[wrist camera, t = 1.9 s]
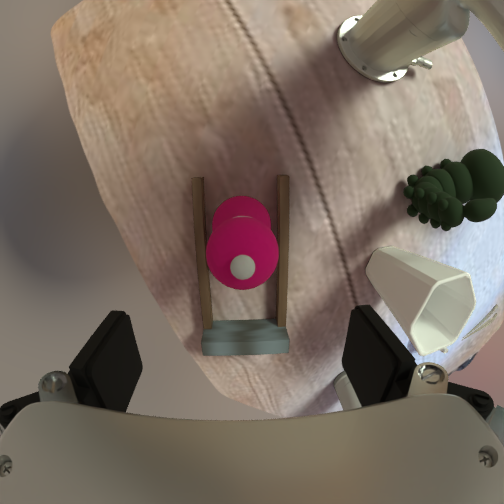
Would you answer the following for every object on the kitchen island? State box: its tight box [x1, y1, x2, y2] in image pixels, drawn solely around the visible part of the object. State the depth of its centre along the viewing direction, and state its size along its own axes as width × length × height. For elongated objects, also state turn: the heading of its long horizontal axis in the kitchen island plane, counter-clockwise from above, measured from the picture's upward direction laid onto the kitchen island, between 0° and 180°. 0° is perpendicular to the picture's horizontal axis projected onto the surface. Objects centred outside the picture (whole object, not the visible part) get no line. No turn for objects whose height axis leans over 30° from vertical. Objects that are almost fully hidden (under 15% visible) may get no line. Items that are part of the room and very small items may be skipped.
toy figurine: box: [403, 149, 504, 231], centre depth 28 cm, size 9×19×25 cm
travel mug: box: [334, 371, 362, 410], centre depth 38 cm, size 6×7×20 cm
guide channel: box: [192, 175, 289, 356], centre depth 37 cm, size 12×24×6 cm, turn 1°
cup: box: [366, 246, 476, 356], centre depth 33 cm, size 11×10×17 cm
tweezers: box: [461, 304, 498, 341], centre depth 48 cm, size 17×5×2 cm, turn 116°
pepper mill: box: [206, 196, 279, 290], centre depth 28 cm, size 7×7×20 cm
